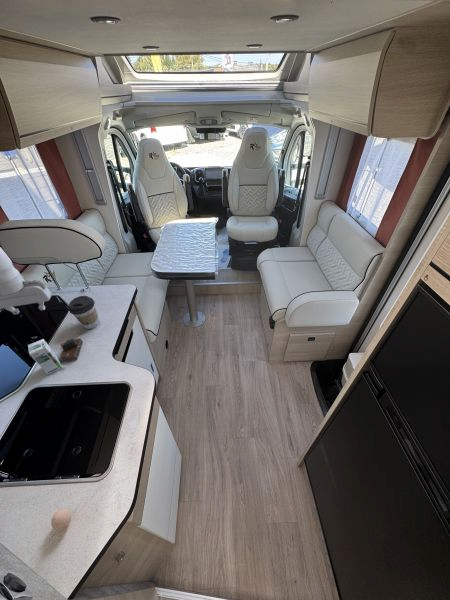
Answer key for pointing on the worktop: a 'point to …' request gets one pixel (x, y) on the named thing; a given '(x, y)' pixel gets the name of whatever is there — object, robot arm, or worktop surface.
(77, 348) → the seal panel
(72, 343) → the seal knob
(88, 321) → the coffee cup
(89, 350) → the worktop surface
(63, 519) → the egg
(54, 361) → the syrup box
